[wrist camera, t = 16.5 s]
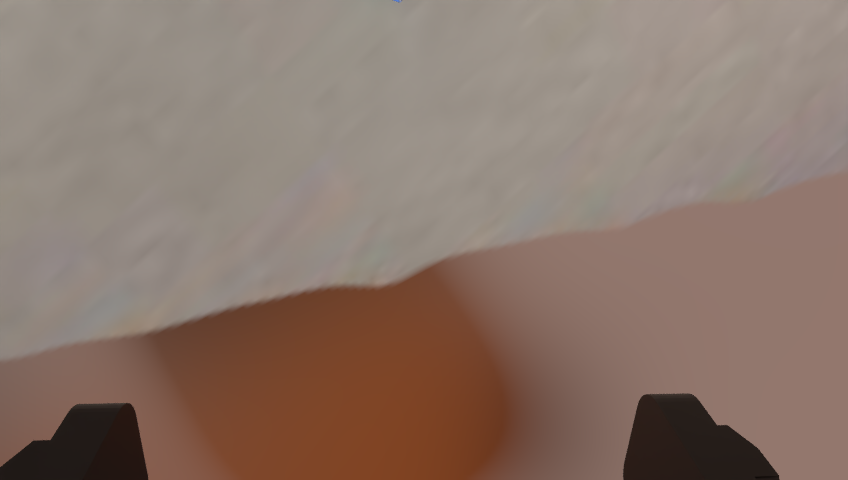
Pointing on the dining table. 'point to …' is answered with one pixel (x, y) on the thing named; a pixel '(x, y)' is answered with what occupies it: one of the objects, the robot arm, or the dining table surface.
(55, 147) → the dining table surface
